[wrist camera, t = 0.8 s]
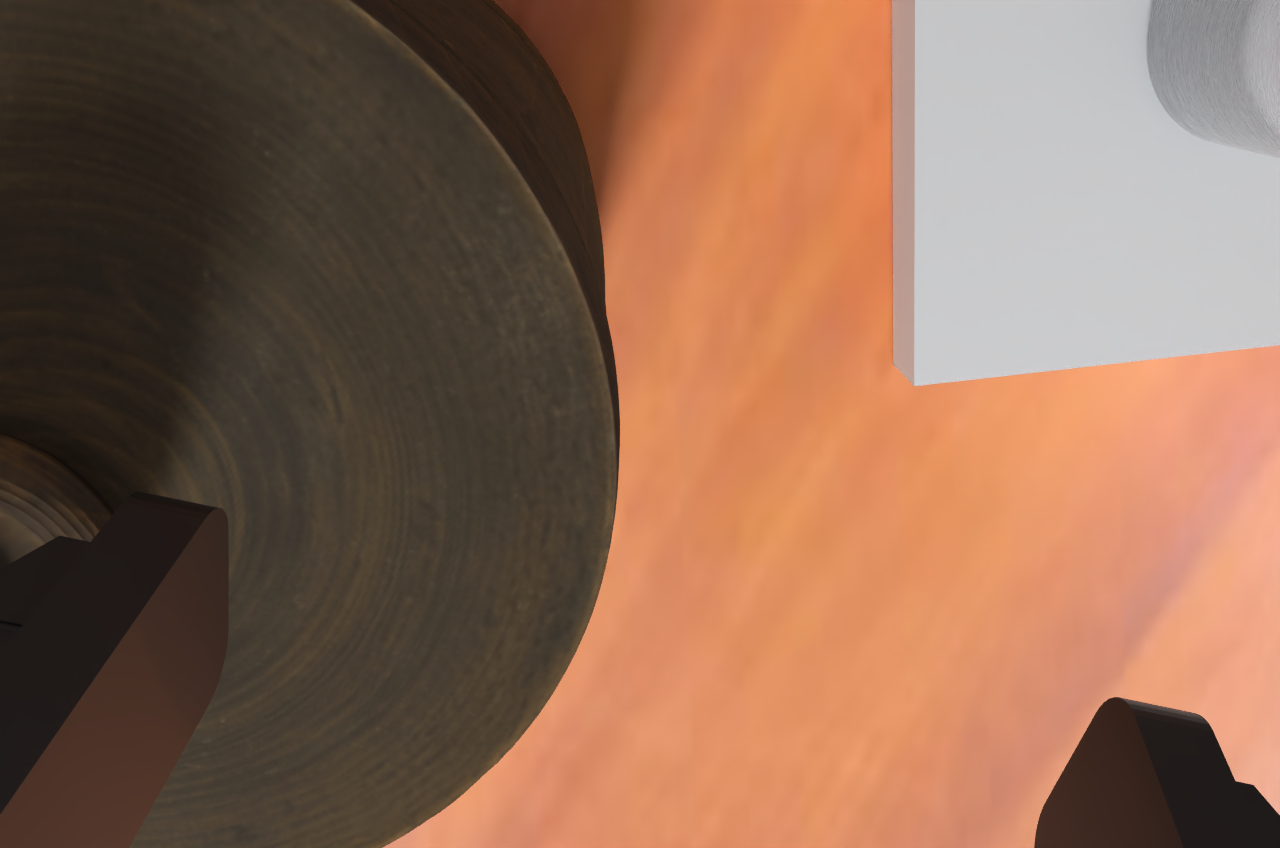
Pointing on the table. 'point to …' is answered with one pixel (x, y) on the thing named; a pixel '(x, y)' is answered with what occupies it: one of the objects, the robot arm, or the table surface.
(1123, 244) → the stand
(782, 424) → the table surface
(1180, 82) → the capstan
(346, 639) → the wooden container
